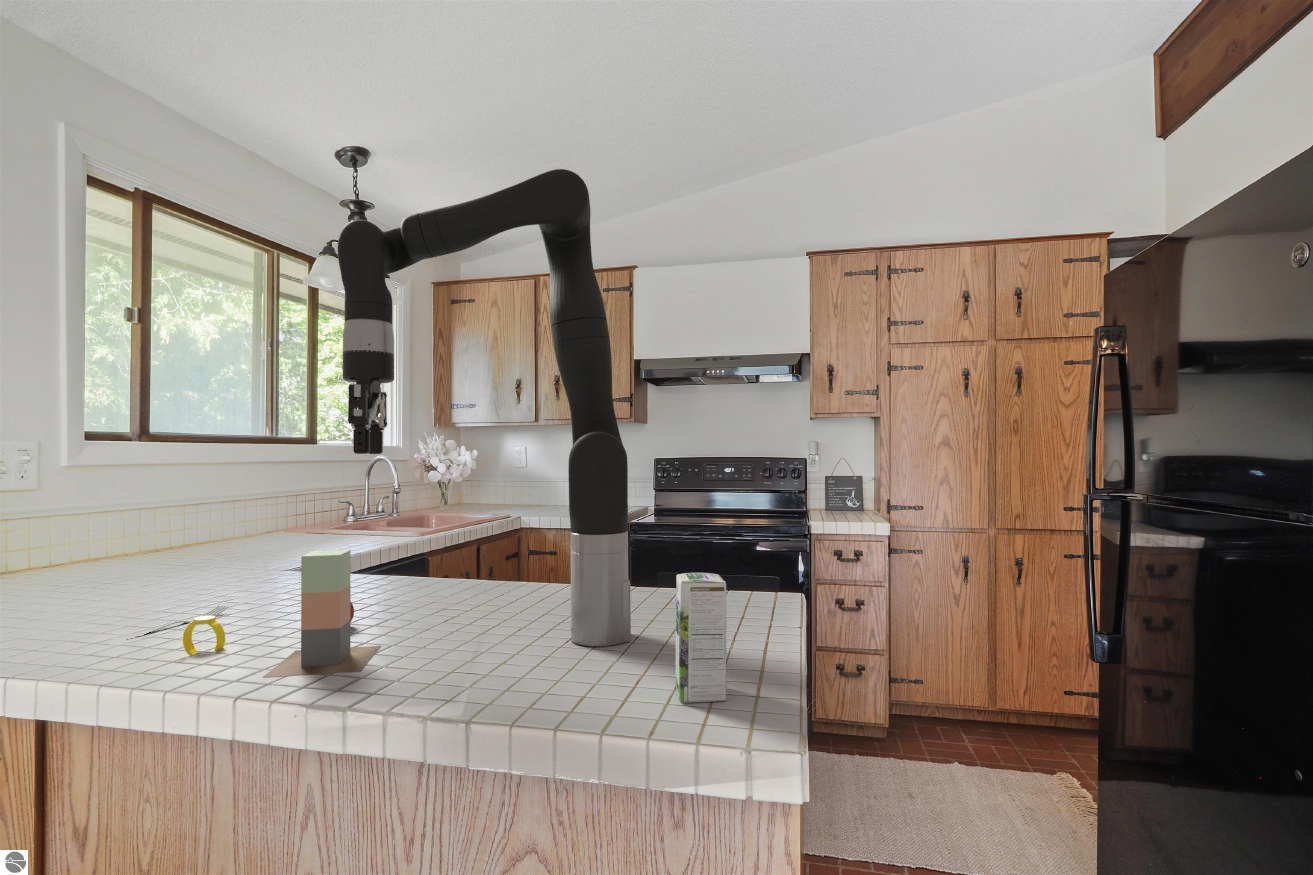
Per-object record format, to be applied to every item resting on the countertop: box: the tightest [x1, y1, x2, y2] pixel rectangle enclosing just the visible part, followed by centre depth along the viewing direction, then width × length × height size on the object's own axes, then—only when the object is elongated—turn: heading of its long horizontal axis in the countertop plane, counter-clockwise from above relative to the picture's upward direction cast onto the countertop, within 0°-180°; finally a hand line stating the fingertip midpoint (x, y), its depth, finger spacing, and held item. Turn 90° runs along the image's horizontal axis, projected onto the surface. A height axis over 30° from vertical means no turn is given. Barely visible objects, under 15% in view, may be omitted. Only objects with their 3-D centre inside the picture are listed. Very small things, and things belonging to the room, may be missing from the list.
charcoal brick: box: [300, 620, 351, 667], centre depth 94 cm, size 5×5×5 cm
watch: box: [182, 615, 226, 657], centre depth 100 cm, size 6×3×6 cm, turn 82°
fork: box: [141, 605, 230, 634], centre depth 116 cm, size 3×24×2 cm, turn 166°
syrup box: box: [675, 572, 727, 704], centre depth 83 cm, size 6×6×14 cm
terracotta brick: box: [300, 583, 352, 631], centre depth 94 cm, size 5×5×5 cm
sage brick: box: [300, 549, 351, 594], centre depth 94 cm, size 5×5×5 cm
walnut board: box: [262, 645, 382, 679], centre depth 94 cm, size 12×12×1 cm
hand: (368, 453), depth 106 cm, fingers open, 8 cm apart
